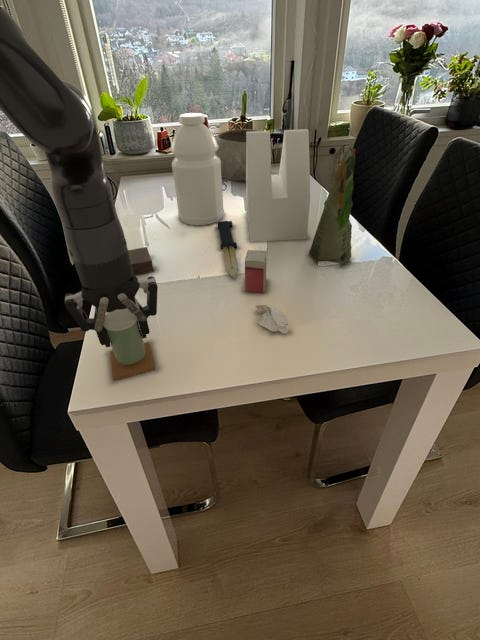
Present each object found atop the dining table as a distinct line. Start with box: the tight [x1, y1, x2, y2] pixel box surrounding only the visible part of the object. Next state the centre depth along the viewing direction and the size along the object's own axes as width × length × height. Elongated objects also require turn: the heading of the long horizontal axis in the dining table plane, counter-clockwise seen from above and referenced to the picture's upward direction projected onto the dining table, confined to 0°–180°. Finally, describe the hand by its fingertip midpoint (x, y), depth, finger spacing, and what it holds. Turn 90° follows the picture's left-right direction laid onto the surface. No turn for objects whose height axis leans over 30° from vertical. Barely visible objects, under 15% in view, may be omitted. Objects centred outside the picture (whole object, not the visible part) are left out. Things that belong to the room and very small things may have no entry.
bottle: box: [170, 112, 225, 226], centre depth 107 cm, size 14×14×28 cm
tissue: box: [254, 304, 289, 334], centre depth 72 cm, size 6×8×4 cm
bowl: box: [215, 128, 274, 182], centre depth 141 cm, size 23×23×15 cm
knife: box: [216, 220, 239, 279], centre depth 97 cm, size 4×2×30 cm
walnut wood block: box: [128, 246, 155, 276], centre depth 91 cm, size 6×8×3 cm
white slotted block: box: [245, 128, 311, 243], centre depth 101 cm, size 19×15×25 cm
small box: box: [244, 249, 268, 294], centre depth 81 cm, size 5×4×8 cm
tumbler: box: [103, 308, 146, 365], centre depth 63 cm, size 6×6×8 cm
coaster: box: [109, 341, 156, 381], centre depth 66 cm, size 7×7×1 cm
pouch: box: [308, 146, 357, 266], centre depth 85 cm, size 11×12×25 cm
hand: (126, 339), depth 63 cm, fingers closed on tumbler, 5 cm apart
